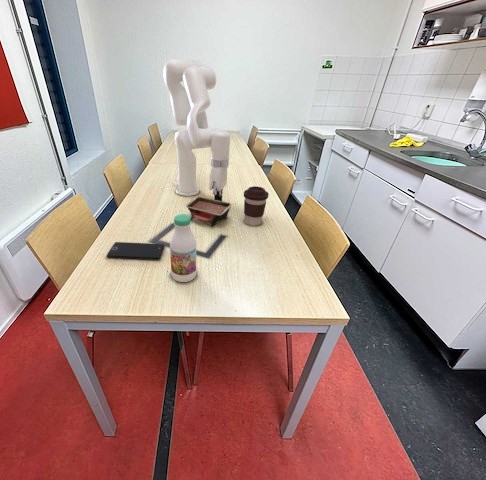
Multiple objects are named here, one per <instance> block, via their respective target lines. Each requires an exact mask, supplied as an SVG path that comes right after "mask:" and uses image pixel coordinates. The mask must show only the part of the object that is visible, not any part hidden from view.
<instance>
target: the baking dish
mask: <svg viewBox="0 0 486 480" xmlns="http://www.w3.org/2000/svg"><path fill="white" fill-rule="evenodd" d="M185 206H186V208H187V209H188V211H189V212H190V218H191V221H193V220H194V219H197V220H199V221H202V222H204V223H206V224H208V225H210V226H211V227H214V226H215V225H216V224H217V223H218V222H221V221H224V220H226V219H227V218H228V215H229V212H230V210H231V206H232V203H231V202H228V201H223V200H222V201H218V200H214V198H213V199H212V198H207V197H203V196H197V197H195V198H193V199H192V200H190V201H189V202H188V203H187V204H186V205H185Z"/></svg>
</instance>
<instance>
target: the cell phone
mask: <svg viewBox="0 0 486 480" xmlns="http://www.w3.org/2000/svg"><path fill="white" fill-rule="evenodd" d="M164 249H165V246H164V244H157V243H151V242H150V243H148V242H124V241H115V242H114V244H113V245H112V246H111V248H110V249H109V251H108V252H107V253H106V257H107V258H114V259H133V260H134V259H135V260H136V259H137V260H157V261H159V260H161V257H162V255H163V252H164Z"/></svg>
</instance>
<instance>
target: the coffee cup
mask: <svg viewBox="0 0 486 480" xmlns="http://www.w3.org/2000/svg"><path fill="white" fill-rule="evenodd" d="M269 196H270V195H269V192H268V191H266V189H265V188H264V187H261V186H258V185H257V186H254V185H253V186H249V187H248V188H247V189H245V190H244V191H243V197H244V200H243V201H244V203H243V214H244V216H243V218H244V219H243V221H244V224H246V225H248V226H253V227H255V226H260V225H261V224H262V221H263V216H264V214H265V210H266V205H267V200H268V199H269Z"/></svg>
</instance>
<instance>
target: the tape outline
mask: <svg viewBox="0 0 486 480" xmlns="http://www.w3.org/2000/svg"><path fill="white" fill-rule="evenodd" d="M173 228H175V225H174V222H173V223H171V224H170V225H169V226H167V227H166V228H165V229H163V230H162V231H161V232H159V234H157V235H156V236H155V237H154V238H153V239H151V240H150V241H149V242H150V243H152V244H164V247H168V248H170V242H166V241H162V240H160V239H162V238H163V237H164V236H165V235H166V234H168V232H170V231H171V230H172V229H173ZM225 238H226V235H223V234H221V235H219V237H218V238H217V239H216V241H215V242H214V243H213V244H212V245H211V246H210V248H208V250H207V251H206V252H204V251H199V250H196V256H200V257H204V258H210V257H211V255H212V254H214V252H215V250H216V249H217V248H218V247H219V245H220V244H221V243H222V242H223V241H224V239H225Z"/></svg>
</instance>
